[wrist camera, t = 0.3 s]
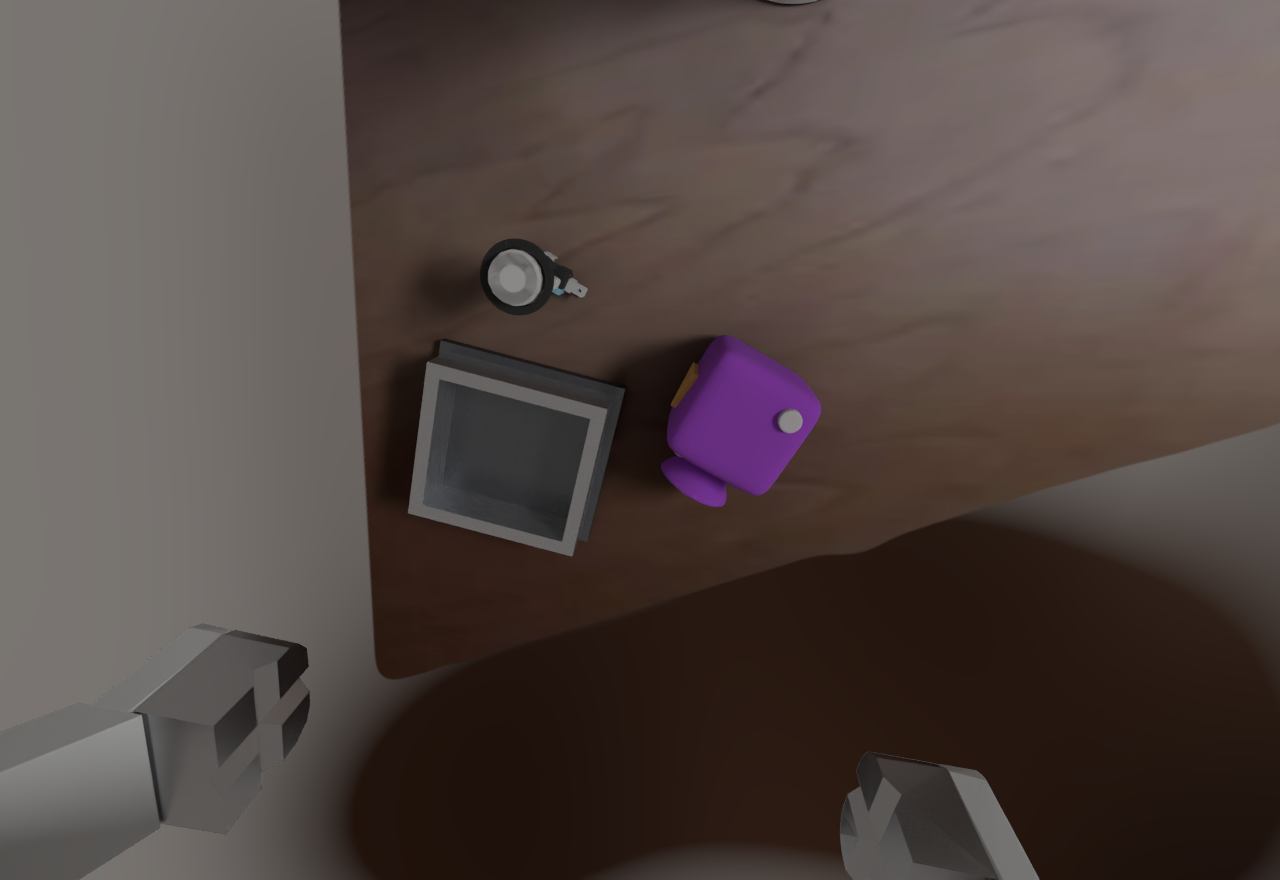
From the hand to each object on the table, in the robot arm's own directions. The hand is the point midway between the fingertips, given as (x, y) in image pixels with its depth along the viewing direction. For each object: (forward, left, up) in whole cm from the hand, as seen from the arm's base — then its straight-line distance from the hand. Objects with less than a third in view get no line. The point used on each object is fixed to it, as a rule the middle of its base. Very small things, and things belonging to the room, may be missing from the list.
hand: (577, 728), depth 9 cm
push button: (-1, -11, -46) cm, 47 cm away
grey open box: (+15, -11, -46) cm, 50 cm away
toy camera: (+7, +7, -46) cm, 47 cm away
